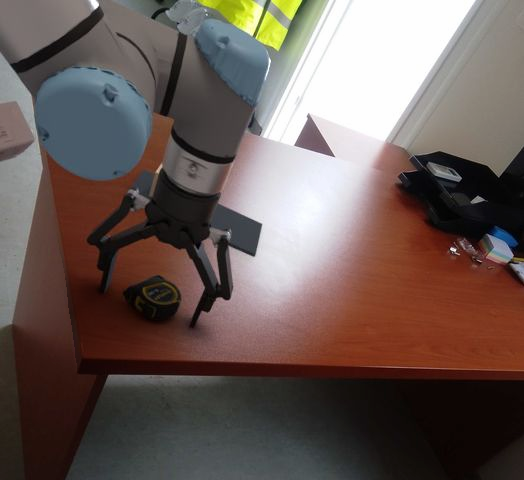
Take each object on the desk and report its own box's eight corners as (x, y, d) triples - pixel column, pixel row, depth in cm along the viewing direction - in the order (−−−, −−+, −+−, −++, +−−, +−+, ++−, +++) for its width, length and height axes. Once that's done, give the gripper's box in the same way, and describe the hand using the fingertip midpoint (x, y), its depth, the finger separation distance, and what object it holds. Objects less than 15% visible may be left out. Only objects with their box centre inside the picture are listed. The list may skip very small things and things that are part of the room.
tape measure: (154, 286, 71) (160, 268, 68) (185, 314, 70) (192, 297, 67) (119, 301, 66) (125, 282, 63) (152, 332, 65) (159, 313, 62)
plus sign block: (148, 195, 85) (155, 171, 82) (156, 184, 89) (163, 160, 85) (174, 207, 86) (181, 183, 83) (180, 195, 90) (188, 172, 86)
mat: (123, 198, 82) (124, 195, 82) (143, 171, 91) (143, 168, 90) (254, 256, 88) (255, 253, 87) (261, 226, 96) (262, 223, 96)
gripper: (73, 142, 48) (54, 287, 62) (285, 238, 53) (223, 352, 67) (99, 119, 53) (76, 257, 68) (290, 209, 59) (231, 320, 73)
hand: (149, 305), depth 67 cm, fingers open, 13 cm apart
